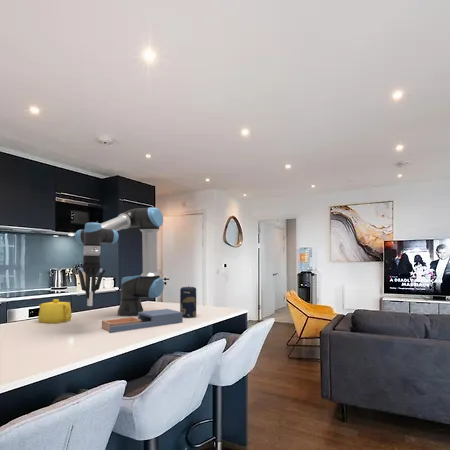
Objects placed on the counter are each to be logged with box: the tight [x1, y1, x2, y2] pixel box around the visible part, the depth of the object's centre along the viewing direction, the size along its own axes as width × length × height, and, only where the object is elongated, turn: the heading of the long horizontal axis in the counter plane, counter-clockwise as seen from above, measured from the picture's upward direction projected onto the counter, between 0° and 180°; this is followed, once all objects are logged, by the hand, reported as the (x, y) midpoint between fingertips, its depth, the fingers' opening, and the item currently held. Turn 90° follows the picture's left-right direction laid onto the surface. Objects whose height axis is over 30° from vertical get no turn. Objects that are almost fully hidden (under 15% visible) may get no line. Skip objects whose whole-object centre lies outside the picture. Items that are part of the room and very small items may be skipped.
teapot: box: [38, 298, 72, 325], centre depth 190 cm, size 20×12×12 cm, turn 70°
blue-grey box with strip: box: [108, 308, 184, 334], centre depth 179 cm, size 16×40×5 cm, turn 130°
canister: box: [179, 285, 197, 318], centre depth 205 cm, size 10×10×18 cm
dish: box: [101, 316, 142, 332], centre depth 173 cm, size 11×16×4 cm
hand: (89, 305), depth 163 cm, fingers closed
